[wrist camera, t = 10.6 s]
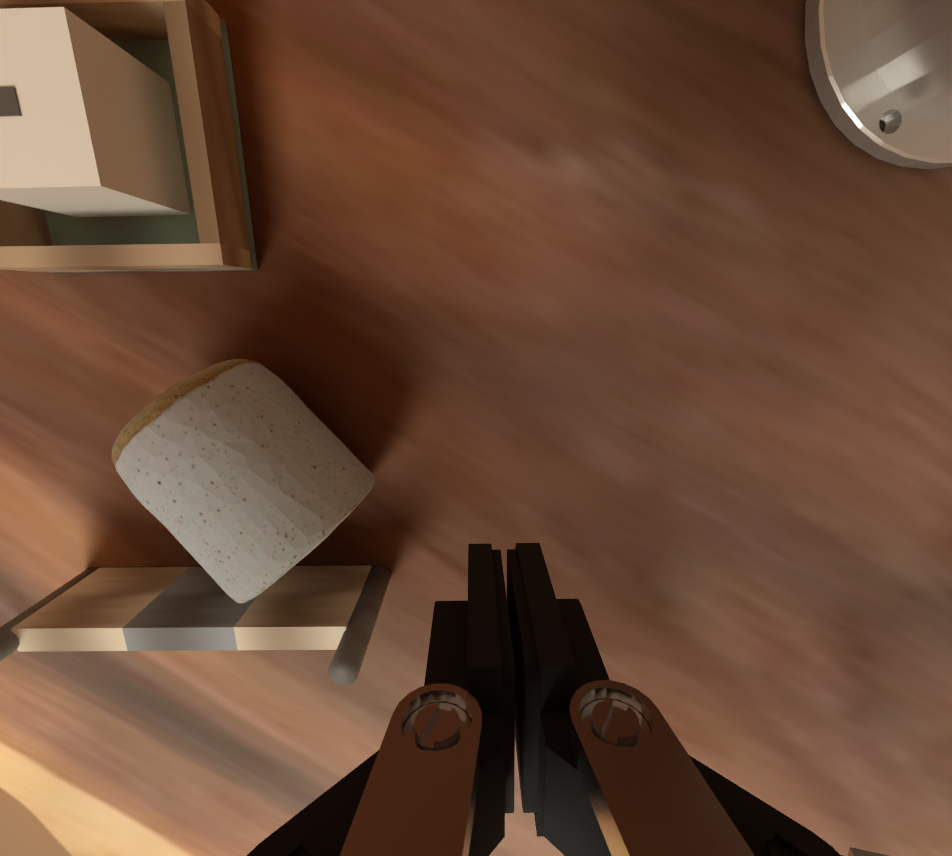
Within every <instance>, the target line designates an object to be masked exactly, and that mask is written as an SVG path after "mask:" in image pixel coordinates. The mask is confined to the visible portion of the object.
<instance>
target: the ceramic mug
mask: <svg viewBox="0 0 952 856" xmlns="http://www.w3.org/2000/svg"><path fill="white" fill-rule="evenodd" d="M112 460H113V463H114V465H115V468H116V470H117V472H118V473H119V475H120V476H121V478H122V479H123V480H124V482H125V483H126V485H127V486H128V488H129V489H130V491H131V492H132V493H133V494H134V496H135V497H136V498H137V499H138V500H139V501H140V503H141V504H142V505H143V506H144V507H145V508H146V509H147V510H148V511H149V512H150V513H152V514H153V515H154V516H155V517H156V518H157V519H158V520H159V521H160V522H161V523H162V524H163V525H164V526H165V527H166V528H167V529H168V530H169V531H170V532H171V534H172V535H173V536H174V537H175V538H176V539H177V540H178V541H179V542H180V543H181V544H182V546H183V547H184V548H185V549H186V550H187V551H188V552H189V553H190V554H191V555H192V556H193V558H194V559H195V560H196V561H197V562H198V563H199V564H200V565H201V566H202V567H203V568H204V569H205V571H206V572H207V573H208V574H209V575H210V576H211V577H212V578H213V579H214V580H215V582H216V583H217V584H218V585H219V586H220V587H221V588H222V589H223V590H224V591H225V593H226V594H227V595H228V596H230V597H231V598H232V599H233V600H234V601H236V602H237V603H245V602H247V601H249V600H251V599H253V598H254V597H256V596H258V595H259V594H261V593H262V592H263V591H264V590H266V589H267V588H268V587H269V586H271V585H272V584H274V583H275V582H276V581H277V580H278V579H279V578H280V577H282V576H283V575H284V574H285V573H286V572H288V571H289V570H290V569H291V568H292V567H293V566H295V565H296V564H297V563H298V562H299V561H301V560H302V559H303V558H304V557H305V556H307V555H308V554H309V553H310V552H311V551H312V550H314V549H315V548H316V547H317V546H318V545H319V544H320V543H321V542H322V541H324V540H325V539H326V538H327V537H328V536H329V535H330V534H331V533H332V532H333V530H334V529H335V528H336V527H337V526H338V525H339V524H340V523H341V522H342V521H343V520H344V519H346V518H347V517H348V516H349V514H350V513H351V512H352V511H353V510H354V509H355V508H356V507H357V506H358V504H359V503H360V502H361V501H362V500H363V499H364V498H365V497H366V495H367V494H368V492H369V491H370V490H371V489H372V487H373V486H374V484H375V477H374V475H373V474H372V473H371V472H370V471H369V470H368V469H367V468H366V467H365V466H364V465H363V464H362V463H361V462H360V461H359V460H358V459H357V458H356V457H355V456H354V455H353V453H352V452H351V451H350V450H349V449H348V448H347V447H346V446H345V445H344V444H343V443H342V442H341V441H340V440H339V439H338V438H337V437H336V436H335V435H334V434H333V433H332V432H331V431H330V430H329V429H328V428H327V427H326V426H325V425H324V424H323V423H322V422H321V421H320V420H319V418H318V417H317V416H316V415H315V414H314V413H313V412H312V411H311V410H310V409H309V408H308V407H307V406H306V405H305V404H304V403H303V402H302V401H301V399H300V398H299V397H298V396H297V395H296V394H295V393H294V392H293V391H292V390H291V389H290V388H289V387H288V386H287V385H286V384H285V383H284V382H283V381H282V380H281V379H280V378H279V377H278V376H276V375H275V374H274V373H272V372H271V371H269V370H268V369H267V368H265V367H264V366H262V365H261V364H260V363H258V362H256V361H254V360H247V359H232V360H226V361H223V362H220V363H217V364H214V365H211V366H209V367H207V368H205V369H203V370H200V371H198V372H196V373H194V374H192V375H190V376H189V377H187V378H185V379H184V380H182V381H180V382H179V383H177V384H175V385H174V386H172V387H171V388H169V389H168V390H166V391H165V392H163V393H162V394H160V395H159V396H158V397H156V398H155V399H154V400H153V401H151V402H150V403H149V404H148V405H146V406H145V407H144V408H143V409H142V410H140V411H139V412H138V413H137V414H136V415H135V416H134V417H133V418H132V419H131V420H130V421H129V422H128V423H127V425H126V426H125V427H124V428H123V429H122V430H121V432H120V434H119V435H118V437H117V439H116V441H115V443H114V446H113V448H112Z"/></svg>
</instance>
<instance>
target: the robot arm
mask: <svg viewBox="0 0 952 856" xmlns="http://www.w3.org/2000/svg"><path fill="white" fill-rule="evenodd" d="M805 44H806V51H807V57H808V64H809V70H810V74H811V77H812V80H813V83H814V85H815V88H816V91H817V94H818V97H819V99H820V102H821V103H822V105H823V107H824V108H825V110H826V111H827V113H828V115H829V116H830V118H831V120H832V121H833V123H834V124H835V126H836V127H837V128H838V129H839V130H840V131H841V132H842V133H843V134H844V135H845V136H846V137H847V138H848V139H849V140H850V141H851V142H852V143H853V144H854V145H856V146H857V147H859V148H860V149H862V150H864V151H865V152H867V153H869V154H870V155H872V156H873V157H875V158H877V159H880V160H883V161H886V162H889V163H892V164H895V165H898V166H901V167H910V168H921V169H936V168H944V167H952V0H806V6H805ZM515 741H516V750H517V760H518V770H519V779H520V789H521V798H522V807H523V812H524V813H534V815H535V822H536V830H537V836H544V837H545V838H546V839H548V840H549V841H550V842H551V843H552V844H553V845H554V846H555V847H556V848H557V849H558V850H559V851H560V852H561V853H563V856H843V855H840V854H839V853H838V852H837V851H836V850H835V849H834V848H833V847H832V846H830V845H829V844H828V843H826V842H825V841H824V840H822V839H821V838H820V837H818V836H817V835H816V834H814V833H813V832H812V831H810V830H808V829H807V828H805V827H803V826H802V825H800V824H799V823H797V822H795V821H794V820H792V819H791V818H789V817H787V816H786V815H784V814H783V813H781V812H779V811H778V810H776V809H775V808H773V807H771V806H770V805H768V804H767V803H765V802H763V801H762V800H760V799H758V798H757V797H755V796H754V795H752V794H750V793H749V792H747V791H746V790H744V789H742V788H741V787H739V786H738V785H736V784H734V783H733V782H731V781H730V780H728V779H726V778H725V777H723V776H722V775H720V774H718V773H717V772H715V771H713V770H712V769H710V768H709V767H707V766H705V765H704V764H702V763H701V762H699V761H697V760H696V759H694V758H693V757H691V756H689V755H688V754H687V752H686V751H685V749H684V747H683V746H682V744H681V743H680V741H679V740H678V738H677V737H676V735H675V734H674V732H673V731H672V729H671V728H670V726H669V725H668V723H667V722H666V720H665V719H664V717H663V716H662V714H661V713H660V711H659V710H658V708H657V707H656V706H655V705H654V703H653V702H652V701H651V700H650V699H649V698H648V697H647V696H645V695H644V694H643V693H641V692H640V691H639V690H637V689H635V688H633V687H631V686H629V685H626V684H624V683H620V682H615V681H611V680H609V677H608V674H607V672H606V669H605V667H604V664H603V661H602V659H601V656H600V653H599V651H598V648H597V645H596V643H595V640H594V638H593V635H592V632H591V630H590V627H589V624H588V622H587V619H586V616H585V614H584V611H583V609H582V606H581V604H580V602H579V600H578V599H556V597H555V594H554V590H553V587H552V584H551V580H550V577H549V574H548V570H547V567H546V564H545V560H544V557H543V554H542V550H541V547H540V544H539V543H516V547H515V549H509V550H507V599H506V591H505V583H504V575H503V567H502V559H501V551H500V550H492V547H491V544H469V551H468V601H436V602H435V606H434V613H433V621H432V629H431V637H430V645H429V653H428V661H427V669H426V676H425V684H424V686H423V687H420V688H418V689H416V690H414V691H412V692H410V693H409V694H408V695H407V696H406V697H404V698H403V699H402V700H401V701H400V702H399V704H398V705H397V707H396V709H395V711H394V713H393V715H392V717H391V720H390V723H389V725H388V728H387V731H386V733H385V736H384V739H383V741H382V744H381V747H380V749H379V751H377V752H376V753H375V754H373V755H372V756H371V757H370V758H368V759H367V760H366V761H364V762H363V763H362V764H361V765H359V766H358V767H357V768H355V769H354V770H353V771H352V772H350V773H349V774H348V775H347V776H345V777H344V778H343V779H341V780H340V781H339V782H338V783H336V784H335V785H334V786H332V787H331V788H330V789H329V790H327V791H326V792H325V793H324V794H322V795H321V796H320V797H318V798H317V799H316V800H315V801H313V802H312V803H311V804H309V805H308V806H307V807H306V808H304V809H303V810H302V811H300V812H299V813H298V814H297V815H295V816H294V817H293V818H292V819H290V820H289V821H288V822H286V823H285V824H284V825H283V826H281V827H280V828H279V829H277V830H276V831H275V832H274V833H272V834H271V835H270V836H269V837H267V838H266V839H265V840H263V841H262V842H261V843H260V844H258V845H257V846H256V847H255V848H254V849H253V850H252V851H251V852H250V853H249V854H248V855H247V856H489V855H490V854H491V852H492V851H493V850H494V849H495V847H496V846H497V845H498V844H499V843H500V841H501V840H502V839H503V838H504V837H505V813H514V747H515ZM848 856H888V855H883V854H879V853H874V852H869V851H865V850H860V849H855V848H851V847H850V849H849V853H848Z"/></svg>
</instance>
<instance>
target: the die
mask: <svg viewBox="0 0 952 856" xmlns="http://www.w3.org/2000/svg"><path fill="white" fill-rule="evenodd" d="M0 200H3V201H7V202H12V203H16V204H21V205H25V206H30V207H34V208H39V209H43V210H48V211H52V212H57V213H61V214H66V215H70V216H75V217H115V216H157V215H191V212H190V205H189V199H188V193H187V187H186V181H185V175H184V169H183V163H182V156H181V150H180V144H179V138H178V132H177V126H176V120H175V114H174V108H173V101H172V95H171V89H170V83H169V82H167V81H166V80H165V79H163V78H162V77H160V76H159V75H158V74H156V73H155V72H154V71H152V70H151V69H149V68H148V67H147V66H145V65H144V64H142V63H141V62H140V61H138V60H137V59H135V58H134V57H133V56H131V55H130V54H129V53H127V52H126V51H124V50H123V49H122V48H120V47H119V46H117V45H116V44H115V43H113V42H112V41H111V40H109V39H108V38H106V37H105V36H104V35H102V34H101V33H99V32H98V31H97V30H95V29H94V28H93V27H91V26H90V25H88V24H87V23H86V22H84V21H83V20H81V19H80V18H79V17H77V16H76V15H74V14H73V13H72V12H70V11H69V10H68V9H66V8H65V7H42V8H8V9H0Z"/></svg>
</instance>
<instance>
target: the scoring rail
mask: <svg viewBox="0 0 952 856" xmlns="http://www.w3.org/2000/svg"><path fill="white" fill-rule="evenodd" d="M389 580H390V572H389V570H388V569H387V568H386V567H384V566H380V565H377V566H374V567H372V566H371V565H364V566H293V567H292V568H291V569H290V570H289V571H288V572H286V573H285V574H284V575H283V576H282V577H280V578H279V579H278V580H277V581H276V582H275V583H274V584H272V585H271V586H269V587H268V588H267V589H266V590H264V591H263V592H262V593H261V594H259V595H258V596H256V597H254V598H253V599H251V600H249V601H247V602H245V603H237V602H236V601H234V600H233V599H232V598H231V597H230V596H228V595H227V594H226V593H225V591H224V590H223V589H222V588H221V587H220V586H219V585H218V584H217V583H216V582H215V580H214V579H213V578H212V577H211V576H210V575H209V574H208V573H207V572H206V571H205V569H204V568H203V567H105V568H99V569H98V568H89V569H87V570H85V571H84V572H82V573H81V574H79V575H78V576H76V577H75V578H73V579H72V580H70V581H69V582H67V583H66V584H64V585H63V586H61V587H60V588H58V589H57V590H55V591H54V592H52V593H51V594H50V595H48V596H47V597H45V598H44V599H42V600H41V601H39V602H38V603H36V604H35V605H33V606H32V607H30V608H29V609H27V610H26V611H24V612H23V613H21V614H20V615H18V616H17V617H15V618H14V619H12V620H11V621H9V622H8V623H6V624H5V625H3V626H2V627H0V661H1V660H3V659H4V658H5V657H7V656H8V655H9V654H11V653H12V652H13V651H15V650H16V649H17V650H18V651H176V650H336V652H335V655H334V657H333V659H332V662H331V664H330V667H329V670H328V673H329V676H330V678H331V679H332V680H333V681H334V682H336V683H338V684H342V685H347V684H351V683H353V682H354V681H355V680H356V679H357V677H358V674H359V671H360V668H361V665H362V661H363V658H364V655H365V652H366V649H367V646H368V643H369V640H370V637H371V634H372V631H373V628H374V625H375V622H376V619H377V616H378V613H379V610H380V607H381V604H382V601H383V598H384V595H385V592H386V589H387V586H388V583H389Z"/></svg>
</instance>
